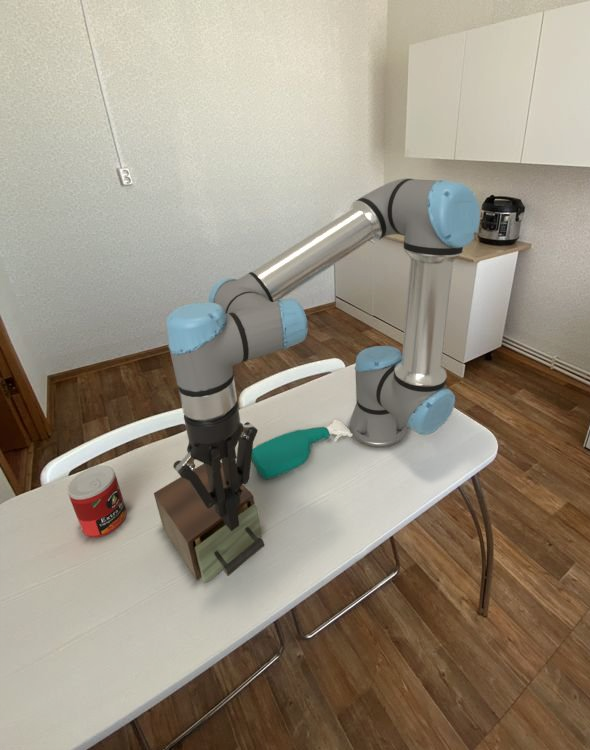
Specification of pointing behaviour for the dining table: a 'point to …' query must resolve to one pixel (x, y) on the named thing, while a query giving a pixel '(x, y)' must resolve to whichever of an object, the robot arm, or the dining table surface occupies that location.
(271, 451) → the spray bottle
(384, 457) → the dining table surface
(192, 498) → the cabinet
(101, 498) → the canned food
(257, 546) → the drawer
